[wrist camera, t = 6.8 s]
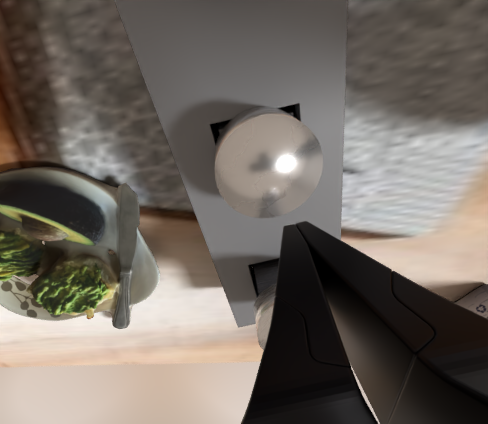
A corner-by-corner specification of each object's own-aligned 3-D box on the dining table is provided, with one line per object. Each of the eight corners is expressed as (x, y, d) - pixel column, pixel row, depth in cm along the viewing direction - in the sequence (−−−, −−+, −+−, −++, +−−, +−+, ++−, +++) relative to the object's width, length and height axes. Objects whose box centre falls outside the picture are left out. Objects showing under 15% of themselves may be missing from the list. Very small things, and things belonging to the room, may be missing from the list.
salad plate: (194, 300, 29) (191, 338, 25) (49, 329, 29) (23, 371, 25) (124, 143, 18) (100, 165, 14) (-106, 189, 18) (-193, 224, 14)
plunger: (304, 232, 20) (341, 300, 15) (308, 276, 23) (339, 346, 18) (240, 246, 20) (251, 320, 15) (252, 288, 23) (265, 363, 18)
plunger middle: (283, 87, 16) (322, 102, 11) (291, 162, 19) (323, 206, 14) (205, 106, 17) (200, 130, 11) (224, 178, 20) (229, 227, 14)
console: (298, -308, 9) (367, -607, 5) (319, 267, 27) (338, 305, 23) (55, -243, 10) (-69, -481, 5) (234, 286, 27) (238, 327, 23)
